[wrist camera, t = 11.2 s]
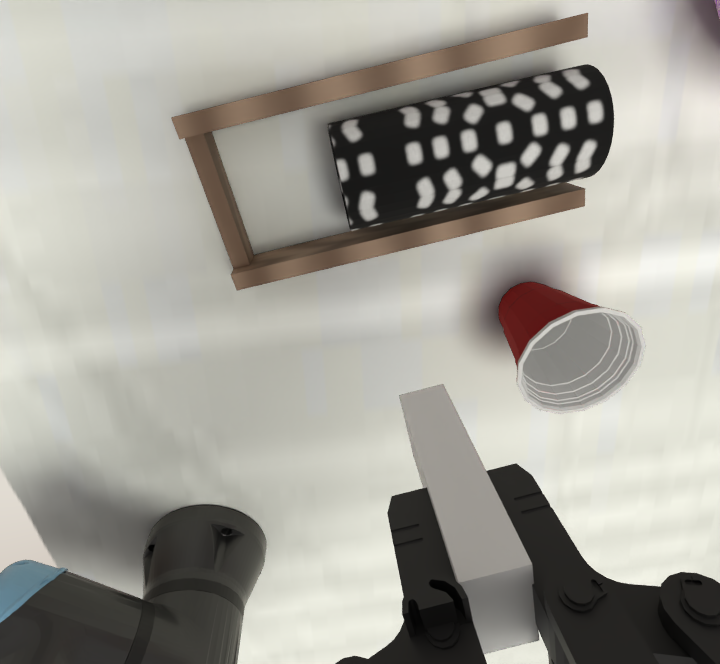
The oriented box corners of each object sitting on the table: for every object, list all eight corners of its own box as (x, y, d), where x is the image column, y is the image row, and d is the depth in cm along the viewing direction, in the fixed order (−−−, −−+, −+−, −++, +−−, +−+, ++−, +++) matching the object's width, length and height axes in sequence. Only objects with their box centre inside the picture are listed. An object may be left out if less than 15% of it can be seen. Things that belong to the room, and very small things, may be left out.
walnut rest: (244, 273, 43) (236, 290, 39) (186, 116, 37) (171, 117, 33) (559, 196, 43) (584, 206, 39) (557, 22, 36) (587, 12, 32)
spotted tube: (324, 109, 31) (606, 44, 31) (329, 138, 39) (552, 87, 39) (351, 228, 33) (619, 167, 32) (350, 232, 41) (565, 184, 41)
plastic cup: (465, 352, 50) (506, 420, 39) (484, 257, 45) (537, 305, 34) (558, 353, 51) (622, 419, 40) (586, 261, 46) (668, 309, 35)
